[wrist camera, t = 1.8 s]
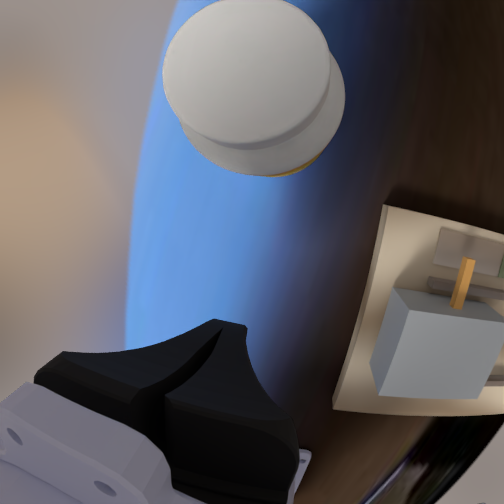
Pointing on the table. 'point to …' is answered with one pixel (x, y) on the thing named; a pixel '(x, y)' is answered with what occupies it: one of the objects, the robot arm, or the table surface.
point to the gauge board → (430, 281)
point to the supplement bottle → (254, 86)
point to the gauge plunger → (436, 343)
